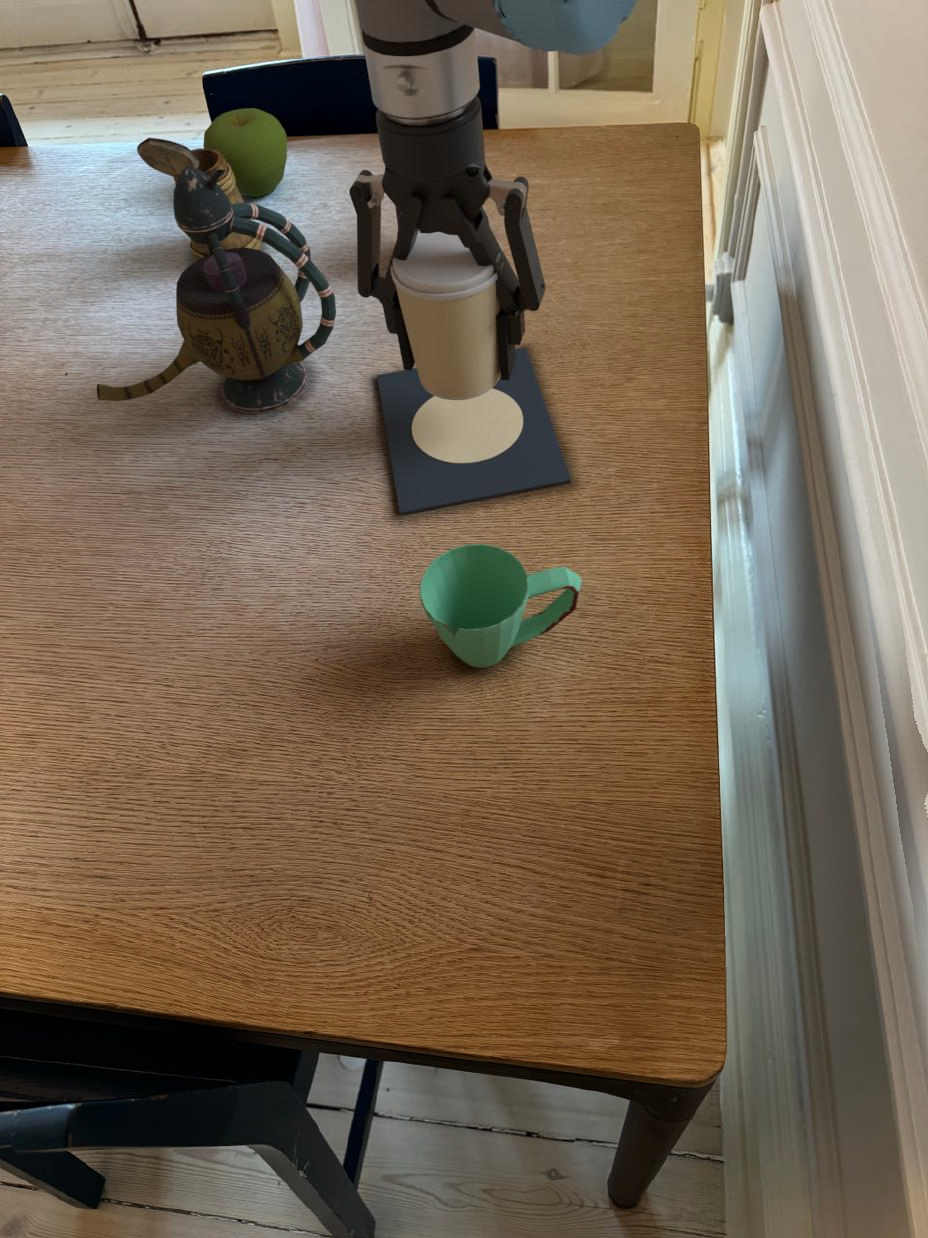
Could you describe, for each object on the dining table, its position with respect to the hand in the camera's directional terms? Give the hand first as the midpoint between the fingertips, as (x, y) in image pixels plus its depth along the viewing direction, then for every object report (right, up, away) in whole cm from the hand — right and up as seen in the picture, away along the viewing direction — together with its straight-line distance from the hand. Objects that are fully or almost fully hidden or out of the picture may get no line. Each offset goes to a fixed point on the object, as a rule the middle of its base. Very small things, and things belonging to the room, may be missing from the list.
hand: (459, 365), depth 78 cm
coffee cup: (0, -1, +1) cm, 1 cm away
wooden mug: (-29, +21, +28) cm, 46 cm away
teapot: (-24, 0, +13) cm, 27 cm away
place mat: (+1, -4, +6) cm, 7 cm away
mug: (+4, -25, -9) cm, 27 cm away
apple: (-27, +34, +37) cm, 58 cm away
